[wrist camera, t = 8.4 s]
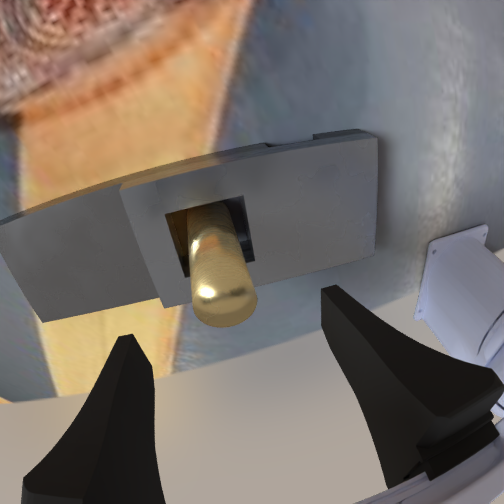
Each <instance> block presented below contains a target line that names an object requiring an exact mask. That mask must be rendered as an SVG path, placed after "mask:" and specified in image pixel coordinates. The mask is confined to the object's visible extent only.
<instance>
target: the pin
mask: <svg viewBox="0 0 504 504" xmlns="http://www.w3.org/2000/svg"><path fill="white" fill-rule="evenodd" d="M187 231H188V248H189V264H190V278H191V291H192V303H193V310H194V313H195V315H196V316H197V318H198V319H199V320H200V321H202V322H203V323H205V324H207V325H209V326H213V327H221V328H222V327H231V326H234V325H237V324H240V323H242V322H243V321H245V320H246V319H248V318H249V317H250V316H251V315H252V313H253V312H254V310H255V308H256V305H257V295H256V292H255V289H254V286H253V283H252V280H251V277H250V274H249V271H248V268H247V265H246V262H245V259H244V256H243V253H242V250H241V246H240V243H239V240H238V237H237V234H236V231H235V228H234V225H233V222H232V219H231V216H230V213H229V210H228V208H227V206H226V205H225V203H224V202H222V201H221V200H220V201H216V202H212V203H207V204H203V205H199V206H195V207H191V208H189V210H188V213H187Z"/></svg>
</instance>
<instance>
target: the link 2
mask: <svg viewBox="0 0 504 504" xmlns="http://www.w3.org/2000/svg"><path fill="white" fill-rule="evenodd" d="M377 189H378V138H377V137H375V136H372V135H370V134H368V133H366V132H364V131H361V130H359V129H351V130H343V131H335V132H327V133H320V134H313V140H311V141H304V142H298V143H292V144H286V145H281V146H275V147H270V148H264V149H259V150H254V151H249V152H244V153H239V154H234V155H229V156H225V157H220V158H216V159H211V160H207V161H203V162H198V163H194V164H190V165H186V166H182V167H178V168H174V169H170V170H166V171H163V172H159V173H155V174H151V175H148V176H144V177H141V178H137V179H134V180H130V181H127V182H123V183H122V185H121V187H120V190H119V192H120V195H121V198H122V201H123V204H124V207H125V210H126V213H127V215H128V218H129V221H130V224H131V227H132V229H133V232H134V235H135V237H136V240H137V243H138V245H139V248H140V251H141V253H142V256H143V258H144V261H145V263H146V266H147V268H148V271H149V273H150V276H151V278H152V281H153V283H154V285H155V288H156V290H157V293H158V295H159V297H160V300H161V302H162V304H163V307H164V308H169V307H173V306H177V305H182V304H186V303H190V302H192V291H191V278H190V265H188V266H184V263H183V260H182V257H181V254H180V251H179V248H178V245H177V242H176V238H175V235H174V232H173V229H172V226H171V222H170V219H169V216H168V213H171V212H175V211H179V210H183V209H187V208H191V207H195V206H199V205H203V204H207V203H212V202H216V201H220V200H224V199H229V198H233V197H238V196H242V202H243V207H244V213H245V218H246V224H247V229H248V235H249V240H250V246H251V250H250V251H246V252H242V253H243V256H244V259H245V262H246V265H247V268H248V271H249V274H250V277H251V280H252V283H253V286H254V287H257V286H261V285H265V284H269V283H273V282H277V281H281V280H285V279H289V278H293V277H297V276H300V275H304V274H308V273H312V272H316V271H319V270H323V269H327V268H331V267H334V266H338V265H342V264H345V263H349V262H353V261H356V260H360V259H364V258H367V257H371V256H374V250H375V235H376V217H377Z"/></svg>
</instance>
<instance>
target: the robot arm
mask: <svg viewBox="0 0 504 504" xmlns="http://www.w3.org/2000/svg"><path fill="white" fill-rule="evenodd" d="M487 233H488V226H487V225H486V224H484V225H481V226H478V227H474V228H471V229H468V230H465V231H462V232H459V233H455V234H452V235H449V236H446V237H443V238H439V239H436V240H433V241H432V242H430V244H429V248H428V253H427V259H426V264H425V269H424V274H423V279H422V283H421V288H420V292H419V296H418V301H417V305H416V309H415V313H414V317H413V318H414V320H415V321H418V320H421V319H423V320H424V321H425V323H426V324H427V325H428V327H429V328H430V329H431V330H432V332H433V333H434V334H435V336H436V337H437V338H438V340H439V341H440V342H441V344H442V345H443V346H444V348H445V349H446V351H447V352H448V353H449V355H450V356H448V355H445V354H443V353H441V352H438V351H436V350H434V349H431V348H429V347H427V346H425V345H423V344H421V343H419V342H417V341H415V340H413V339H412V338H410V337H408V336H406V335H404V334H403V333H401V332H400V331H398V330H396V329H395V328H393V327H392V326H390V325H389V324H387V323H386V322H384V321H383V320H381V319H380V318H379V317H377V316H376V315H374V314H373V313H372V312H371V311H369V310H368V309H366V308H365V307H364V306H363V305H361V304H360V303H359V302H357V301H356V300H355V299H354V298H352V297H351V296H350V295H349V294H348V293H346V292H345V291H344V290H343V289H341V288H340V287H339V286H337V285H333V286H329V287H326V288H322V289H321V326H322V329H323V331H324V334H325V337H326V339H327V342H328V344H329V346H330V349H331V351H332V352H333V354H334V356H335V358H336V360H337V362H338V363H339V365H340V367H341V369H342V371H343V373H344V375H345V376H346V378H347V380H348V382H349V384H350V385H351V387H352V389H353V391H354V393H355V395H356V397H357V399H358V402H359V404H360V407H361V409H362V412H363V414H364V417H365V419H366V422H367V425H368V428H369V430H370V433H371V436H372V439H373V442H374V445H375V448H376V451H377V454H378V457H379V460H380V464H381V467H382V471H383V474H384V478H385V482H386V485H387V488H388V490H386V491H384V492H382V493H379V494H377V495H375V496H372V497H370V498H367V499H364V500H362V501H359V502H357V503H354V504H490V503H491V502H492V501H494V500H495V499H496V498H497V497H498V496H500V495H501V494H502V493H503V492H504V263H503V262H502V261H501V260H500V259H499V258H498V257H496V256H495V255H494V254H493V253H492V252H491V251H490V250H488V249H487V248H486V247H485V246H484V245H485V241H486V237H487ZM154 409H155V388H154V378H153V369H152V365H151V364H150V362H149V360H148V359H147V357H146V355H145V354H144V352H143V350H142V349H141V347H140V345H139V344H138V342H137V340H136V338H135V337H134V335H133V334H129V335H124V336H119V337H118V338H117V340H116V342H115V344H114V346H113V348H112V350H111V352H110V355H109V357H108V359H107V361H106V363H105V365H104V367H103V369H102V371H101V373H100V375H99V377H98V379H97V381H96V383H95V385H94V387H93V389H92V390H91V392H90V394H89V396H88V398H87V400H86V402H85V403H84V405H83V407H82V408H81V410H80V412H79V413H78V415H77V416H76V418H75V419H74V421H73V422H72V424H71V425H70V427H69V428H68V429H67V431H66V432H65V433H64V435H63V436H62V438H61V439H60V440H59V441H58V443H57V444H56V445H55V446H54V447H53V449H52V450H51V451H50V452H49V453H48V454H47V455H46V456H45V457H44V458H43V460H42V461H41V462H40V463H39V464H38V465H36V466H35V467H34V468H33V469H32V470H31V471H30V472H29V473H28V474H27V475H26V476H25V477H24V478H23V486H22V498H21V504H166V503H165V499H164V495H163V491H162V487H161V481H160V476H159V471H158V464H157V458H156V451H155V435H154V434H155V432H154V431H155V430H154V414H155V410H154ZM490 410H491V411H492V412H493V413H494V414H496V415H497V416H499V417H501V418H502V419H501V420H500V421H499V422H498V423H496V424H495V425H494V424H493V422H492V421H491V420H492V419H493V418H494V416H493V414H492V412H491V411H490Z"/></svg>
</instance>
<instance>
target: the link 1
mask: <svg viewBox="0 0 504 504" xmlns="http://www.w3.org/2000/svg"><path fill="white" fill-rule="evenodd" d="M264 148H269V147H268V146H267V145H265V144H264V143H259V144H254V145H249V146H244V147H239V148H234V149H229V150H225V151H220V152H216V153H211V154H207V155H202V156H198V157H194V158H190V159H186V160H182V161H178V162H174V163H170V164H166V165H162V166H158V167H155V168H151V169H147V170H144V171H140V172H137V173H133V174H130V175H127V176H123V177H120V178H117V179H113V180H110V181H107V182H104V183H100V184H97V185H94V186H91V187H88V188H85V189H82V190H79V191H76V192H73V193H70V194H68V195H65V196H62V197H59V198H56V199H54V200H51V201H48V202H45V203H43V204H40V205H38V206H35V207H32V208H30V209H27V210H25V211H22V212H20V213H17V214H15V215H12V216H10V217H7V218H5V219H3V220H0V253H1V254H2V256H3V258H4V260H5V262H6V264H7V266H8V268H9V269H10V271H11V273H12V275H13V276H14V278H15V280H16V282H17V283H18V285H19V287H20V288H21V290H22V292H23V293H24V295H25V297H26V298H27V300H28V301H29V303H30V305H31V306H32V308H33V309H34V311H35V312H36V314H37V315H38V317H39V318H40V320H41V321H42V323H44V322H49V321H54V320H59V319H63V318H68V317H73V316H78V315H82V314H87V313H92V312H96V311H101V310H105V309H110V308H115V307H119V306H124V305H128V304H133V303H137V302H141V301H146V300H150V299H155V298H159V295H158V293H157V290H156V288H155V285H154V283H153V281H152V278H151V276H150V273H149V271H148V268H147V266H146V263H145V261H144V258H143V256H142V253H141V251H140V248H139V245H138V243H137V240H136V237H135V235H134V232H133V229H132V227H131V224H130V221H129V218H128V215H127V213H126V210H125V207H124V204H123V201H122V198H121V195H120V192H119V190H120V187H121V185H122V183H123V182H127V181H130V180H134V179H137V178H141V177H144V176H148V175H151V174H155V173H159V172H163V171H166V170H170V169H174V168H178V167H182V166H186V165H190V164H194V163H198V162H203V161H207V160H211V159H216V158H220V157H225V156H229V155H234V154H239V153H244V152H249V151H254V150H259V149H264ZM240 202H241V207H242V213H243V218H244V223H245V229H246V234H247V239H248V241H243V242H239V243H240V246H241V250H242V252H246V251H250V250H251V246H250V240H249V235H248V229H247V224H246V218H245V213H244V207H243V202H242V196H240ZM168 216H169V219H170V222H171V226H172V229H173V232H174V235H175V238H176V242H177V245H178V248H179V251H180V254H181V257H182V260H183V263H184V266H188V265H190V264H189V255H185V256H184V254H183V251H182V248H181V245H180V241H179V238H178V235H177V232H176V228H175V225H174V222H173V218H172V215H171V213H168Z"/></svg>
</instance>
